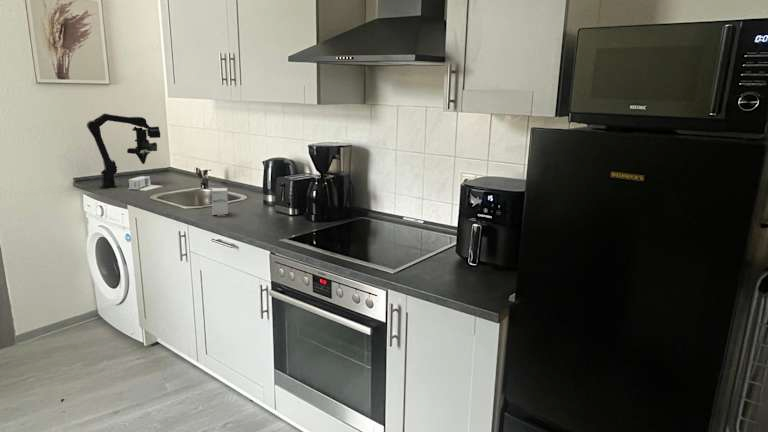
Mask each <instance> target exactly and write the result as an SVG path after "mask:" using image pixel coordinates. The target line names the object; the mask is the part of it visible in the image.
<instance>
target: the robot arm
mask: <svg viewBox="0 0 768 432" xmlns="http://www.w3.org/2000/svg"><path fill="white" fill-rule="evenodd" d="M107 122H116V123H121V124H130V125H133V126H134V127H133V128H132V129H131V130H132V131H133V132H135V138H136V139H135V140H134V142H136V146H135V147H130V148H127V150H126V153H127V154H130V155H133V154H134V155H136V156H137V158H138V159H139V161H140V162H141V164H142V165H144V164H146V160H147V158H148V155H149V154H151V152H158V144H157V142H152V143H151V142H150V140H149V139H148V138H150V139H159V138H161V132H160V127H159V126H150V125H149V124H148V123H147V120H146V118H145V117H142V116H123V115H116V114H110V113H109V114H108V113H102V114H101V115H99V116H98V117H97V118H94V120H89V121H87V123H86V128H87V130H88V131H89V132H90V134H91V135H92V137H93V139H94V142H95V144H96V147H97V149H98V151H99V153H100V155H101V159H102V161H103V162H102V163H103V170H102V171H100V174H101V177H100V178H101V186H99V188H102V189H112V188H116V187H118V186H117V185H116V182H115V174H117V172H118V167H117V164H116V161H115V160H114V159H113V160H112V159H111V157H110V154H109V152H108V150H107V148H106V146H105V145H106V144H105V142H104V140H103V138H102V134H101V128H100V127H101V126H103V125H104V124H105V123H107ZM143 128H144V129H143Z"/></svg>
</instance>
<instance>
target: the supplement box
mask: <svg viewBox="0 0 768 432" xmlns="http://www.w3.org/2000/svg"><path fill="white" fill-rule="evenodd" d="M228 189H229V188H228V187H212V188H211V210H212V211H211V212H212V216H213V215H217V214H229V200H228V199H229V197H228V194H229V193H228V191H229V190H228ZM217 216H218V215H217Z"/></svg>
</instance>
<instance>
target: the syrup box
mask: <svg viewBox="0 0 768 432" xmlns="http://www.w3.org/2000/svg"><path fill="white" fill-rule="evenodd" d="M150 185H152V183H151V176H150V175H149V176H148V175H147V176H146V175H140V176H137V177H133V178H130V179H128V188H129V189H128V190H132V189H138V190H137V191H140V190H139V189H141V188H144V187H147V186H150Z"/></svg>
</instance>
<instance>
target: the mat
mask: <svg viewBox="0 0 768 432" xmlns="http://www.w3.org/2000/svg"><path fill="white" fill-rule="evenodd" d="M163 187H164V186H163V185H156V184H151V185H150V186H147V187H144V188H141V189H139V190H138V189H131V190H134V191H142V192H146V191H150V190H155V189H160V188H163ZM127 189H128V190H130V189H129V187H127Z"/></svg>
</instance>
